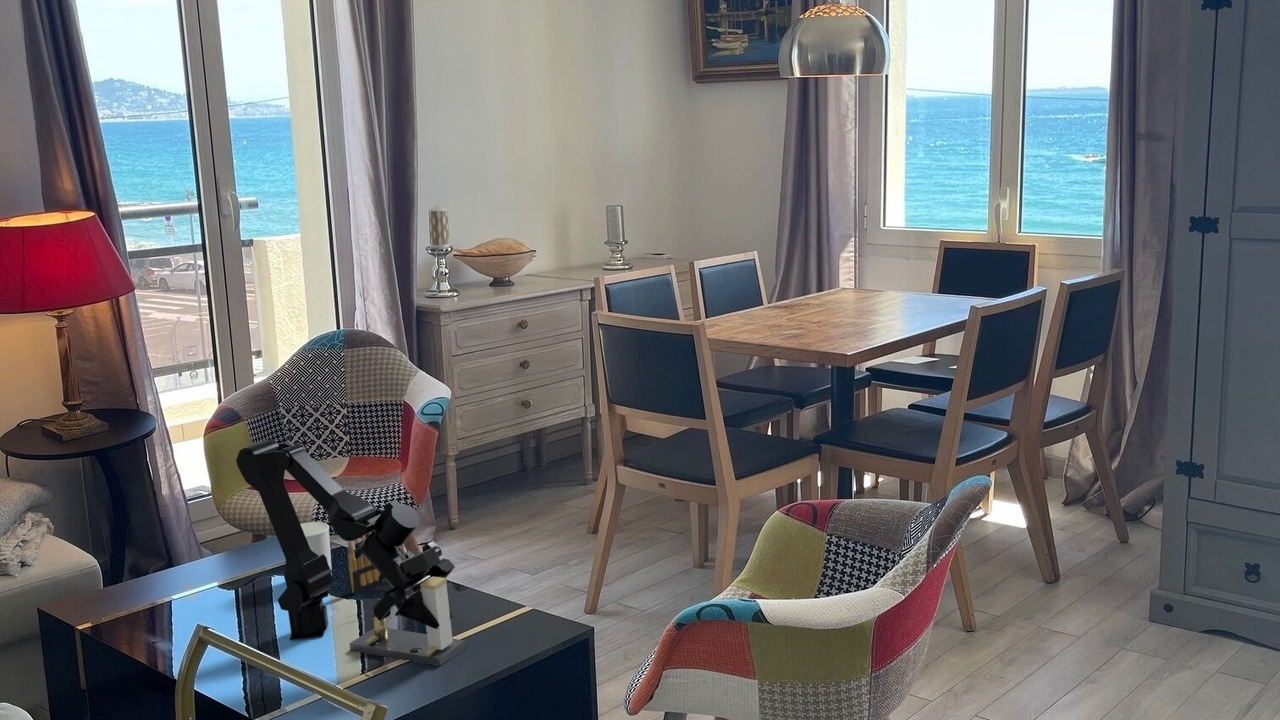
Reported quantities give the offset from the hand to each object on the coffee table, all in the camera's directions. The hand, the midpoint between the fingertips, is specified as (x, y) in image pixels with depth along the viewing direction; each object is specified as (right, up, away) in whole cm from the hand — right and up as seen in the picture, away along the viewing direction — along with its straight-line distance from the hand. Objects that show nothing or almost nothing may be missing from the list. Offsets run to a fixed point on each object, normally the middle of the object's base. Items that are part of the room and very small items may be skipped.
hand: (444, 623), depth 218 cm
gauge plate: (-8, -6, +6) cm, 11 cm away
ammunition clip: (-22, -1, +39) cm, 45 cm away
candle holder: (-36, -1, +45) cm, 58 cm away
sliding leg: (-1, -5, +1) cm, 5 cm away
